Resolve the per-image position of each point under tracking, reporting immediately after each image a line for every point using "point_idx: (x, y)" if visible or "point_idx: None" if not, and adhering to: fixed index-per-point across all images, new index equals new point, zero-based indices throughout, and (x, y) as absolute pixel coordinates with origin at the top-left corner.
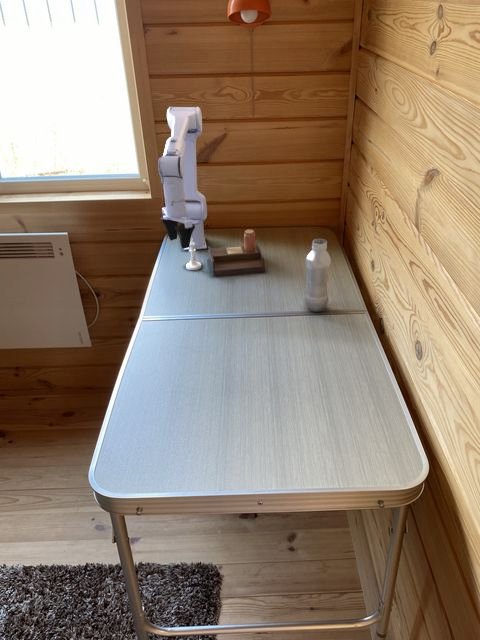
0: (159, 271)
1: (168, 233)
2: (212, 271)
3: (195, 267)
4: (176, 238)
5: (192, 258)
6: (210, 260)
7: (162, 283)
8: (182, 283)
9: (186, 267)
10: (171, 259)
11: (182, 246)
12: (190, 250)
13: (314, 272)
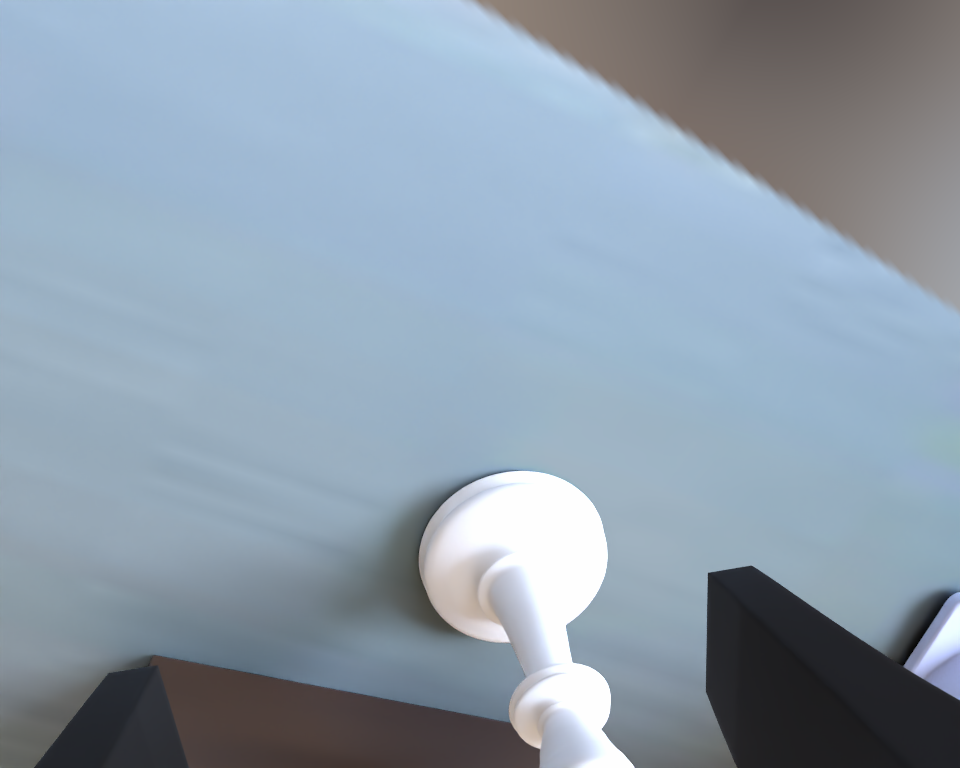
0: (646, 132)
1: (810, 662)
2: (199, 692)
3: (431, 564)
4: (711, 694)
5: (516, 618)
6: (408, 765)
7: (259, 18)
8: (129, 277)
9: (530, 475)
10: (857, 396)
11: (87, 704)
12: (559, 689)
13: None
